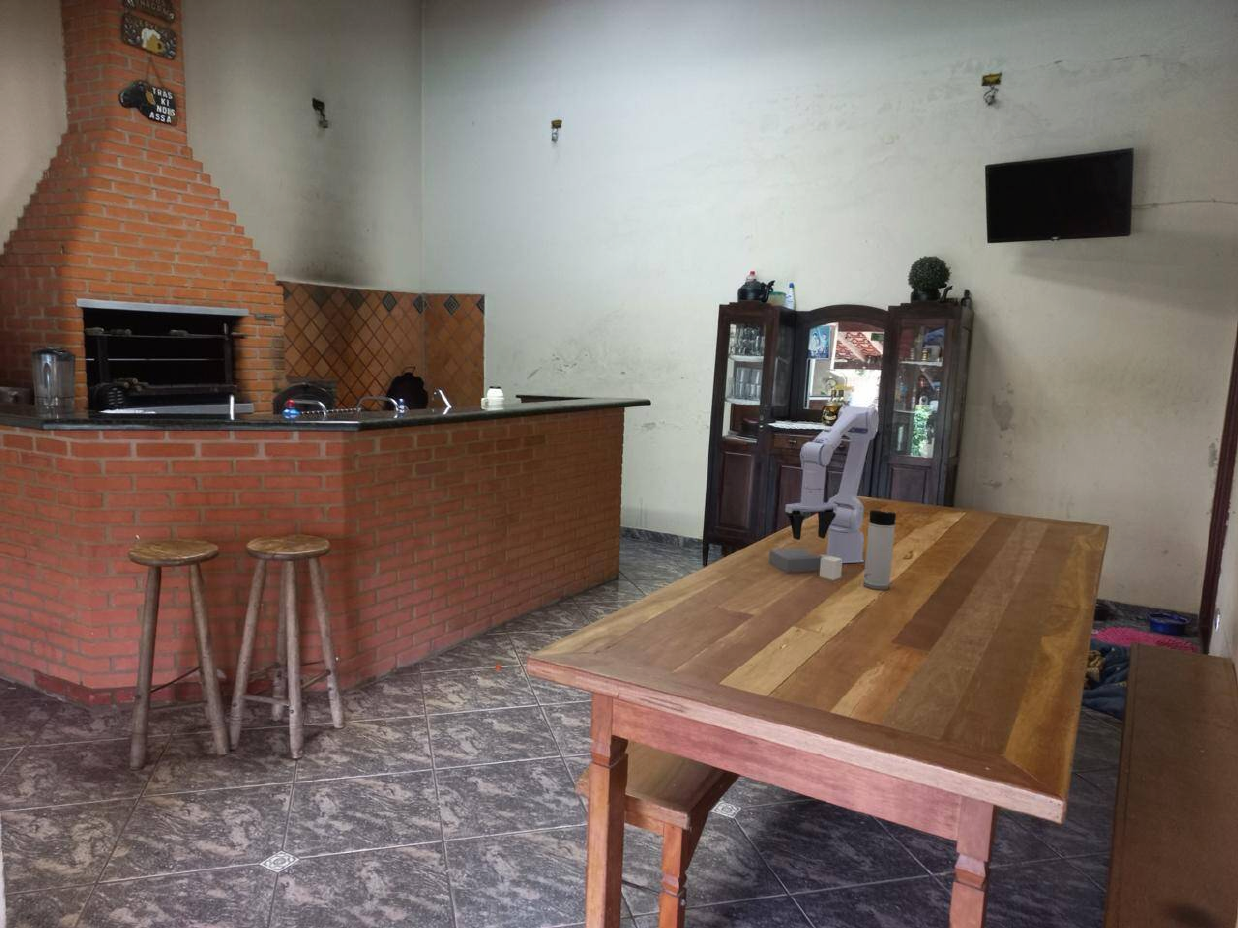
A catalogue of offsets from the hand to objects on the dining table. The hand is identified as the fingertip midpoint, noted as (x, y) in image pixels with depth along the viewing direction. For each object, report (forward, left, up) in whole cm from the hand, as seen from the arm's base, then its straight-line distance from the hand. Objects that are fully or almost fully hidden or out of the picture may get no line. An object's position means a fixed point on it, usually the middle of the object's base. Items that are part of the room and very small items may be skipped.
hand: (809, 538), depth 206 cm
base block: (0, -6, -10) cm, 11 cm away
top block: (-5, +4, -10) cm, 11 cm away
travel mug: (-12, +14, -10) cm, 21 cm away
